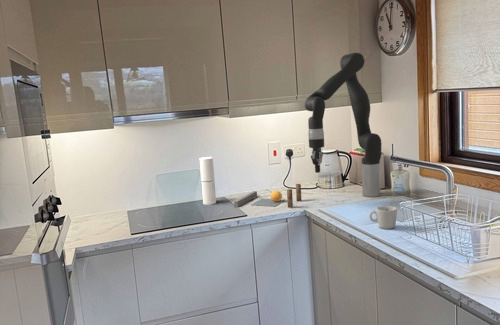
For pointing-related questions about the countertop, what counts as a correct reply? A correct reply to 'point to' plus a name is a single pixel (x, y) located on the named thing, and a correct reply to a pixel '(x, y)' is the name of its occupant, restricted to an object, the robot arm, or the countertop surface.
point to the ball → (276, 196)
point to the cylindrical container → (207, 180)
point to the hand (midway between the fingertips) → (317, 172)
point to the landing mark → (267, 202)
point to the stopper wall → (245, 199)
